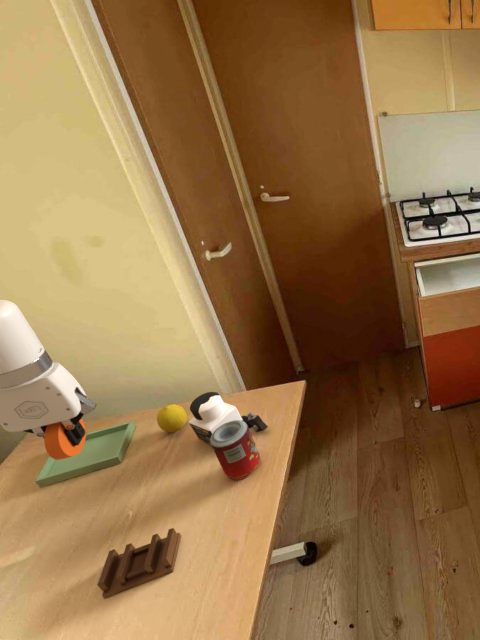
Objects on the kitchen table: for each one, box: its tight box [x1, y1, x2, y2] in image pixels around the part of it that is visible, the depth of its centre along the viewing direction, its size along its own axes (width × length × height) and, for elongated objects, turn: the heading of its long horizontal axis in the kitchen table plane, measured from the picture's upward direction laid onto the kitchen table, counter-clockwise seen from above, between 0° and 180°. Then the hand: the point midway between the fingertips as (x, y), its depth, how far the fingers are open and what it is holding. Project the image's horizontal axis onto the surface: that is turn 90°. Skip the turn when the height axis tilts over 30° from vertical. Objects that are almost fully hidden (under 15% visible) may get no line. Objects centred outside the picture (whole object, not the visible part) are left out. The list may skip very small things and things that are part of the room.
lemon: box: [156, 403, 188, 433], centre depth 103 cm, size 6×6×8 cm
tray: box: [34, 420, 136, 488], centre depth 98 cm, size 14×11×2 cm
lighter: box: [240, 412, 269, 433], centre depth 104 cm, size 8×2×5 cm
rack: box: [96, 527, 182, 599], centre depth 77 cm, size 10×7×4 cm
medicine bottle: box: [188, 391, 243, 446], centre depth 101 cm, size 7×7×12 cm
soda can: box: [209, 420, 261, 480], centre depth 93 cm, size 7×7×12 cm
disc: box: [43, 417, 87, 460], centre depth 79 cm, size 2×8×8 cm, turn 24°
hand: (70, 441), depth 80 cm, fingers closed on disc, 2 cm apart
